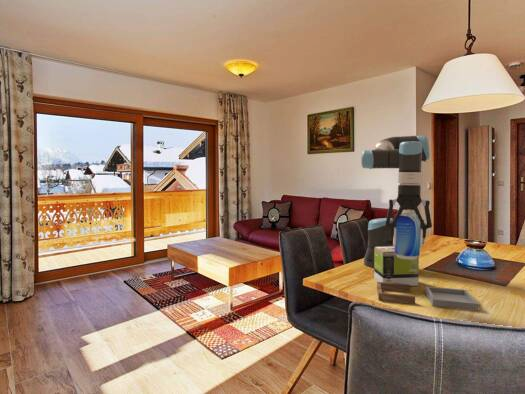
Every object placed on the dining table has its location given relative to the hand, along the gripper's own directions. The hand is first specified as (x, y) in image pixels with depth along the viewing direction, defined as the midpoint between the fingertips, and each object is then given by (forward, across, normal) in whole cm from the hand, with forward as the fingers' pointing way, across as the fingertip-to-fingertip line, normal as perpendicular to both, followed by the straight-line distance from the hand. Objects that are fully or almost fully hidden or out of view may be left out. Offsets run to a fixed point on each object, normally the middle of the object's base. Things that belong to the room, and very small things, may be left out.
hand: (407, 245), depth 123 cm
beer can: (+4, 0, 0) cm, 4 cm away
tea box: (+20, -2, +16) cm, 25 cm away
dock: (+19, -3, 0) cm, 20 cm away
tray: (+19, +15, 0) cm, 24 cm away
